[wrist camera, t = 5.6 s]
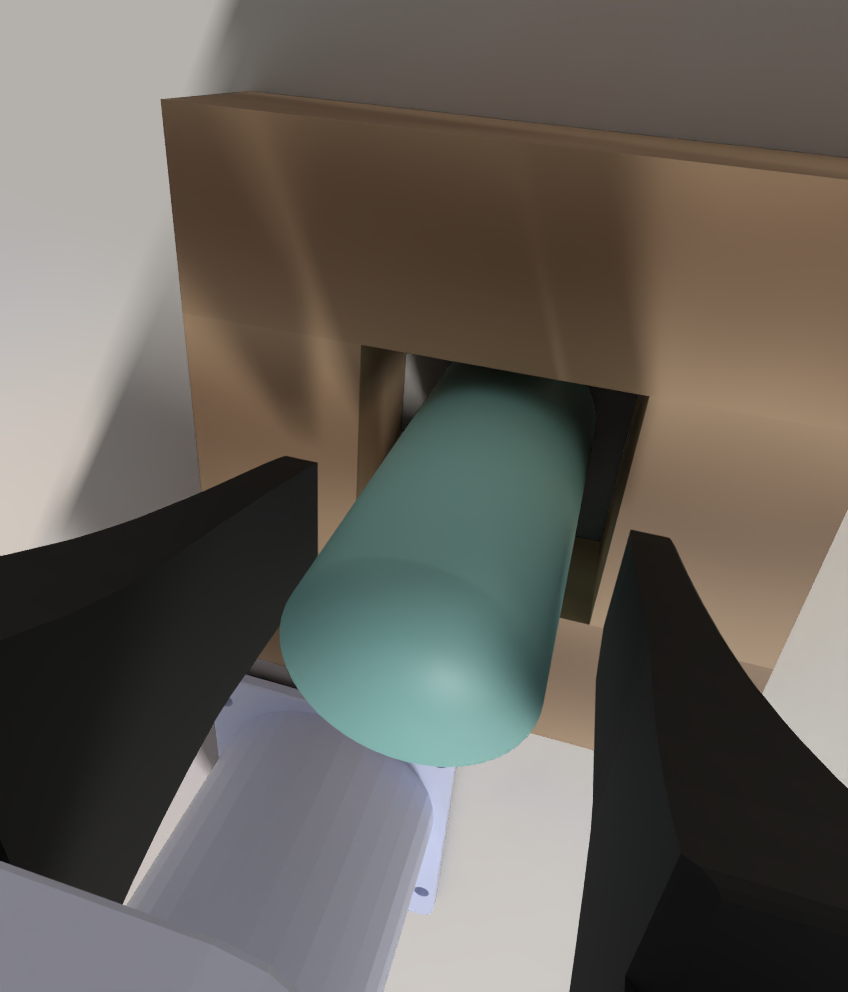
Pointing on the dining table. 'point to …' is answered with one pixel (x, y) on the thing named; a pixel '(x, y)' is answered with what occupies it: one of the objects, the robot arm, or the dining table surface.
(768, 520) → the socket block
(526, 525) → the peg
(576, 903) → the dining table surface
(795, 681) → the dining table surface
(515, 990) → the dining table surface
